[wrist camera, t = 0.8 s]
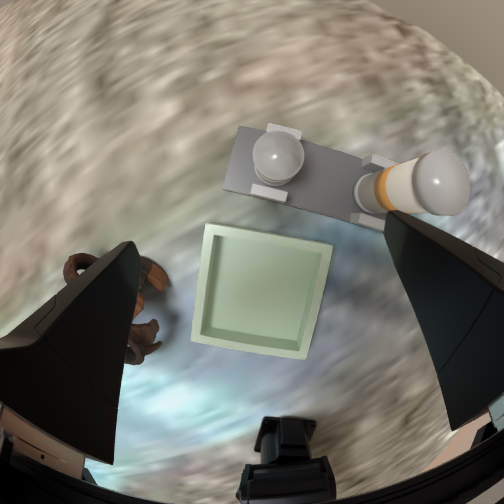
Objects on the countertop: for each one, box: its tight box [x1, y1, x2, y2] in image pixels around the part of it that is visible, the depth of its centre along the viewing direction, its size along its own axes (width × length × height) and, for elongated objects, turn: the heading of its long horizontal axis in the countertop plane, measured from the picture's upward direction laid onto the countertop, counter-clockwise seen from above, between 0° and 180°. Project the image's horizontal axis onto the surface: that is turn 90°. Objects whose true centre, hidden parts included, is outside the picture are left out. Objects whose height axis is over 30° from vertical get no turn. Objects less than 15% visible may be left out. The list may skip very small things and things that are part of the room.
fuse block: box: [223, 123, 397, 233], centre depth 23 cm, size 6×17×4 cm, turn 76°
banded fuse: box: [352, 149, 470, 216], centre depth 17 cm, size 4×4×12 cm
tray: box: [191, 222, 333, 360], centre depth 24 cm, size 11×11×3 cm
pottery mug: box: [63, 253, 168, 365], centre depth 24 cm, size 12×10×8 cm
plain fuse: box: [253, 130, 304, 187], centre depth 21 cm, size 4×4×5 cm
